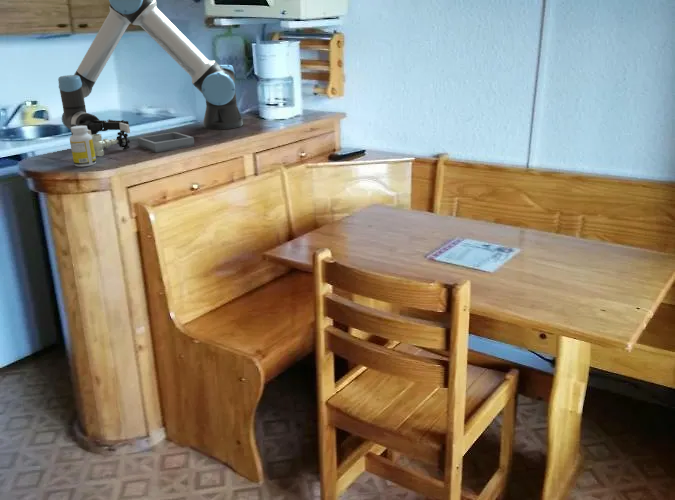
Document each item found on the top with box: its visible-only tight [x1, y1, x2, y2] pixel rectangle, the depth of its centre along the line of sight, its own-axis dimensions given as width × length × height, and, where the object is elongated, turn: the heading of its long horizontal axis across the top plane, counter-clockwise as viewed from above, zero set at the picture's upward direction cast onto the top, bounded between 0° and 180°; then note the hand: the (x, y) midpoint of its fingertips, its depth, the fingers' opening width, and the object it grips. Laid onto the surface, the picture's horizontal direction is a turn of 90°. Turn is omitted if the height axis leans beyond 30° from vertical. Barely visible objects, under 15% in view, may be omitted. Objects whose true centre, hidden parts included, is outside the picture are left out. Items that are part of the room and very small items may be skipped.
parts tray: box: [137, 131, 195, 154], centre depth 224 cm, size 14×14×3 cm
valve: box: [92, 130, 131, 157], centre depth 215 cm, size 7×7×12 cm
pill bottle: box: [69, 126, 97, 168], centre depth 200 cm, size 6×6×12 cm
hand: (109, 131), depth 212 cm, fingers closed on valve, 12 cm apart
